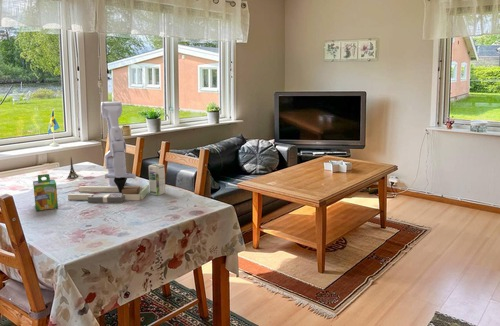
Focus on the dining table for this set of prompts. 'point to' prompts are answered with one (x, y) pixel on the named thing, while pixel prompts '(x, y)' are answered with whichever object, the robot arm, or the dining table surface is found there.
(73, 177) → the eiffel tower figurine
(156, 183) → the syrup box
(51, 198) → the chalk box
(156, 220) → the dining table surface
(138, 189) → the walnut block
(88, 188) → the trap lane
